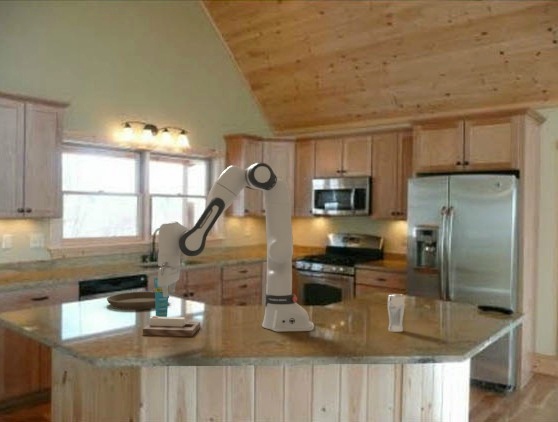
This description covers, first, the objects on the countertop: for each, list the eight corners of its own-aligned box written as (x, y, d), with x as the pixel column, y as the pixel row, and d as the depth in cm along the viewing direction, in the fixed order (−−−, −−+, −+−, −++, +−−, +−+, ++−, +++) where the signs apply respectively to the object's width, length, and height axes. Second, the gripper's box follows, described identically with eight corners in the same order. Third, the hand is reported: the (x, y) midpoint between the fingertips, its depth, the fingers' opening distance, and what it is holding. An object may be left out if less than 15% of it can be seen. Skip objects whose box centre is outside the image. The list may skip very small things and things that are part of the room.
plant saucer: (97, 303, 247) (97, 295, 247) (151, 296, 268) (151, 288, 268) (123, 314, 225) (123, 304, 225) (180, 305, 246) (180, 297, 246)
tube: (155, 322, 210) (155, 278, 209) (151, 319, 214) (152, 277, 213) (171, 320, 214) (172, 277, 214) (167, 317, 218) (168, 276, 218)
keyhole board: (200, 327, 201) (200, 321, 201) (192, 336, 188) (192, 330, 187) (153, 326, 203) (153, 320, 203) (142, 334, 189) (142, 328, 189)
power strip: (185, 329, 196) (185, 316, 196) (183, 331, 193) (183, 318, 193) (151, 328, 197) (152, 315, 197) (149, 330, 194) (149, 317, 194)
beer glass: (394, 333, 197) (395, 297, 197) (383, 329, 203) (384, 294, 203) (407, 331, 200) (408, 296, 200) (396, 327, 207) (396, 293, 207)
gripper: (169, 264, 185) (169, 299, 185) (182, 258, 205) (182, 290, 205) (153, 264, 185) (153, 299, 185) (168, 258, 205) (168, 290, 205)
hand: (168, 294), depth 195 cm, fingers open, 8 cm apart
